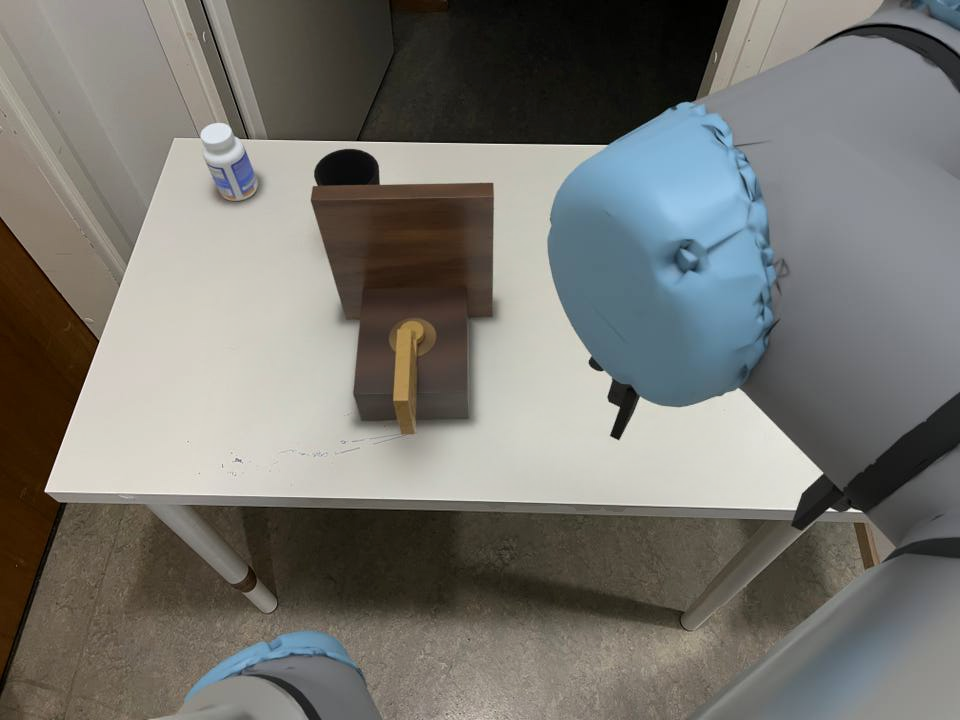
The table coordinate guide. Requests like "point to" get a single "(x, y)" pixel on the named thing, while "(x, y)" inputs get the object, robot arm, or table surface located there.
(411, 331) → the lever
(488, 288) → the case
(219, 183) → the pill bottle
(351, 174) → the cup
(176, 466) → the table surface
